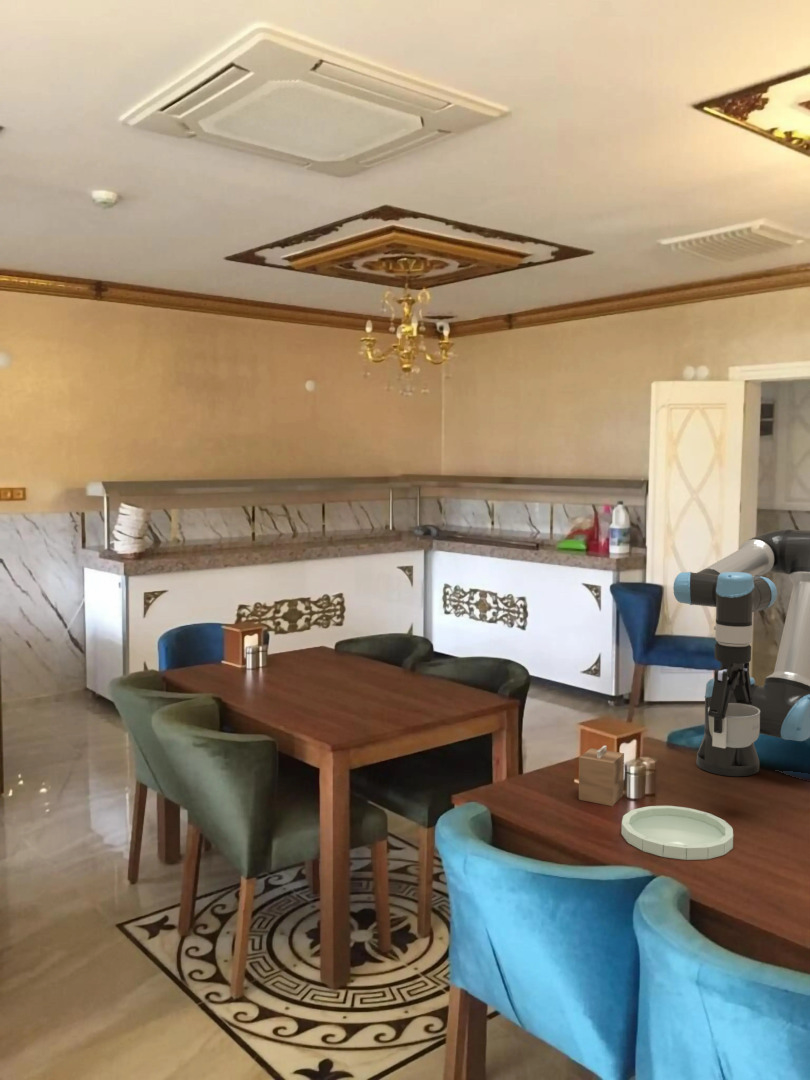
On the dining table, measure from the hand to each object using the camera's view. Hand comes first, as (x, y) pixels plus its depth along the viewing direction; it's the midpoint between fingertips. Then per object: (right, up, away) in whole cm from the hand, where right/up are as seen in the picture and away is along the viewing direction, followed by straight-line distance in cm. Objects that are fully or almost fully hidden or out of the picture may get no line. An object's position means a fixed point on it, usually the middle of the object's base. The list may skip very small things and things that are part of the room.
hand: (730, 740), depth 203 cm
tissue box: (-26, -16, +11) cm, 32 cm away
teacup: (+1, -1, +1) cm, 1 cm away
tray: (-15, -17, -12) cm, 26 cm away
